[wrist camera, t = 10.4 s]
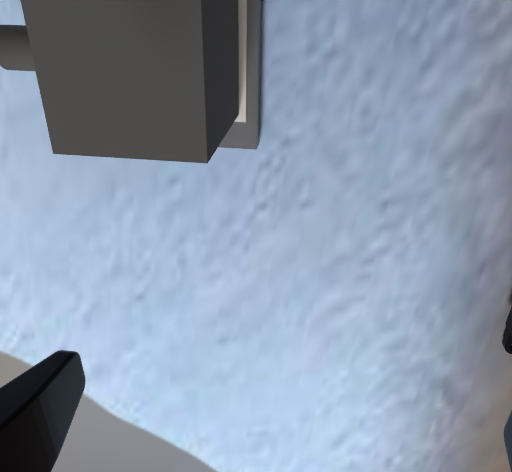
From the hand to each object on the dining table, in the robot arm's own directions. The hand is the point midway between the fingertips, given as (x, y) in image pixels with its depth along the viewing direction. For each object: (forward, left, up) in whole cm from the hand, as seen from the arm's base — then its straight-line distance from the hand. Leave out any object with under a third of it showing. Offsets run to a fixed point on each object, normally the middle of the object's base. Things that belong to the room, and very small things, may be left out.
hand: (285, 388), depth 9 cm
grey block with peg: (+7, -5, -12) cm, 15 cm away
